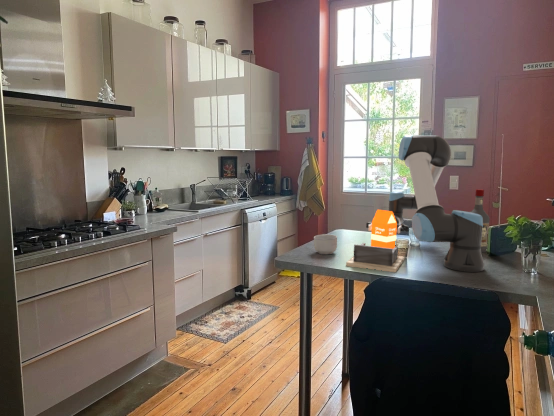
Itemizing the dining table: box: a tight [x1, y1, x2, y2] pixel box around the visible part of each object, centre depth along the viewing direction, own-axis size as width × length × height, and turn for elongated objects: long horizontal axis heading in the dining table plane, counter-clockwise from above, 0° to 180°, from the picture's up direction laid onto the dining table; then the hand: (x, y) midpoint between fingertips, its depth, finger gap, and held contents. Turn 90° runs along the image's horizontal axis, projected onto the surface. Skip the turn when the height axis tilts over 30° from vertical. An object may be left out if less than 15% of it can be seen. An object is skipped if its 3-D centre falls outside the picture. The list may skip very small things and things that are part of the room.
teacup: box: [313, 233, 338, 255], centre depth 191 cm, size 14×11×8 cm
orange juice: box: [370, 209, 398, 249], centre depth 192 cm, size 8×9×20 cm
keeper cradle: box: [345, 242, 405, 273], centre depth 173 cm, size 22×20×8 cm
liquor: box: [470, 188, 491, 253], centre depth 199 cm, size 9×9×30 cm
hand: (383, 229), depth 193 cm, fingers open, 13 cm apart
